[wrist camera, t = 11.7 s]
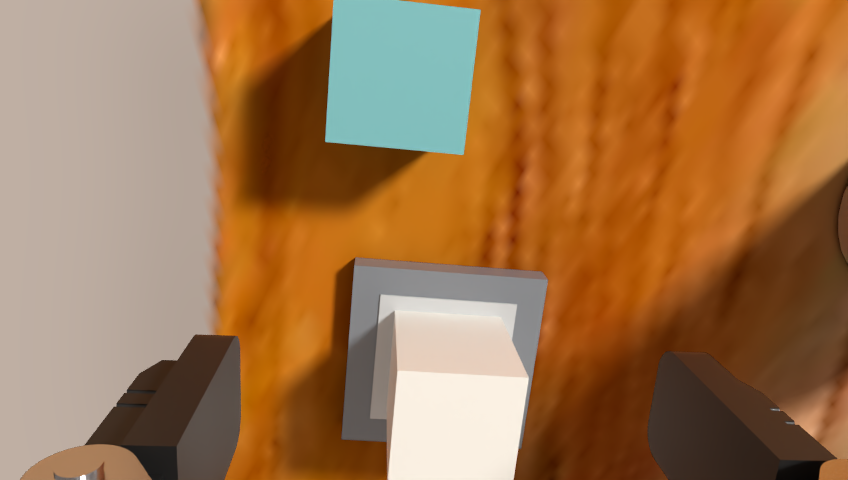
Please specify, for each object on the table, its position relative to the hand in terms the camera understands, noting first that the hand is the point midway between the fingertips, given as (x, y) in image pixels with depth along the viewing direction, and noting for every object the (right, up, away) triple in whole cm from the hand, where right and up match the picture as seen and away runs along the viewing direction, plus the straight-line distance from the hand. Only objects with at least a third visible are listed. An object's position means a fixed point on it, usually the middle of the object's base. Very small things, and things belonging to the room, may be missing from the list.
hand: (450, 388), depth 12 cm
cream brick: (0, -3, +18) cm, 19 cm away
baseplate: (0, -3, +20) cm, 20 cm away
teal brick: (-2, +10, +16) cm, 19 cm away
